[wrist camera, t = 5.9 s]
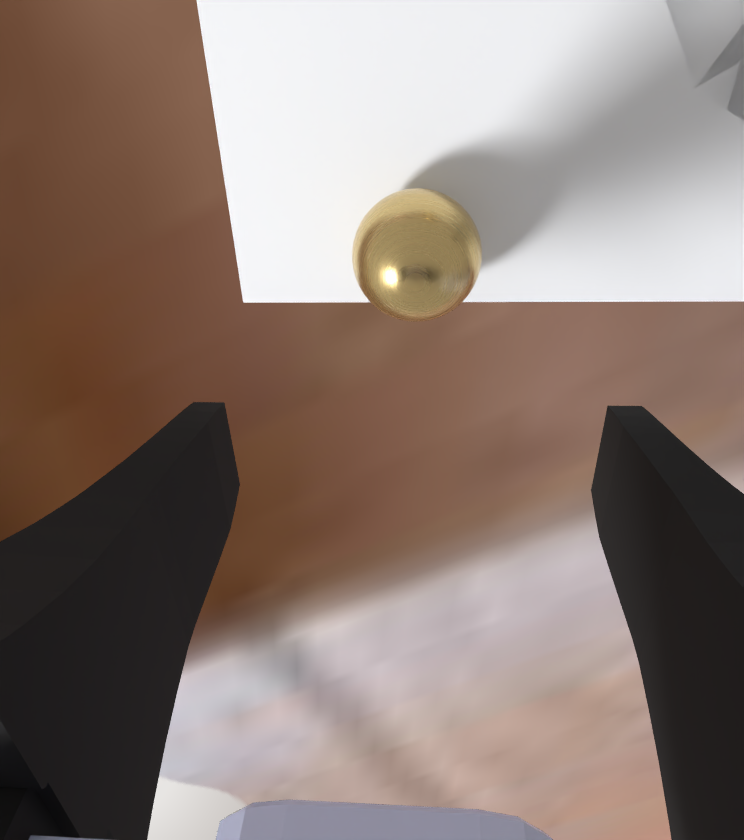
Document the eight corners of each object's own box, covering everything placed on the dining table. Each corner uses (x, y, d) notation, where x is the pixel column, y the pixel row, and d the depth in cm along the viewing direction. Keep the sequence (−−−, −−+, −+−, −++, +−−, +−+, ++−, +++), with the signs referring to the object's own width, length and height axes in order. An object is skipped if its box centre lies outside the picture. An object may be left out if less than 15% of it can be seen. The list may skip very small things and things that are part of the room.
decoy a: (481, 170, 17) (490, 213, 15) (474, 288, 19) (482, 345, 17) (354, 173, 18) (341, 214, 15) (360, 289, 19) (349, 344, 17)
